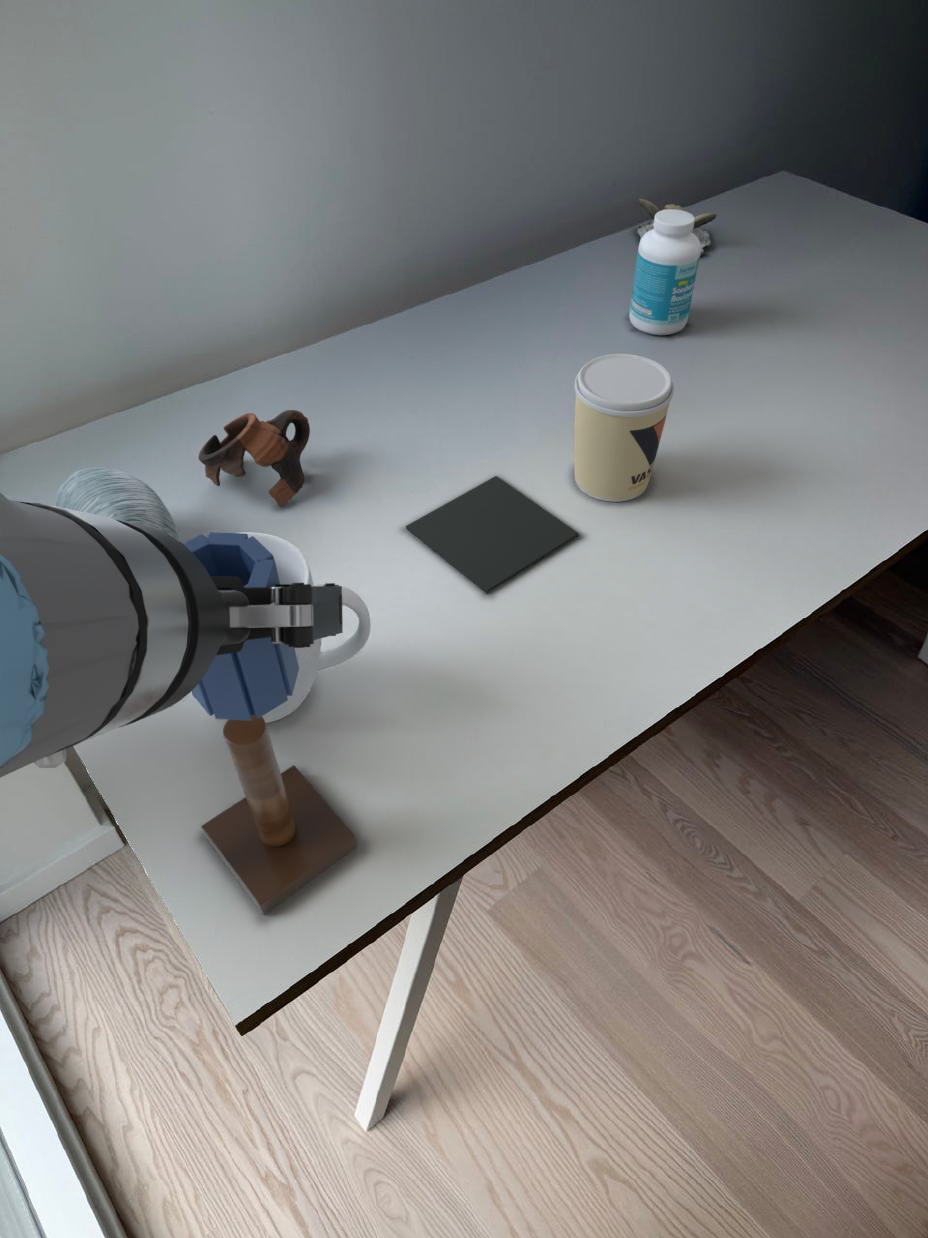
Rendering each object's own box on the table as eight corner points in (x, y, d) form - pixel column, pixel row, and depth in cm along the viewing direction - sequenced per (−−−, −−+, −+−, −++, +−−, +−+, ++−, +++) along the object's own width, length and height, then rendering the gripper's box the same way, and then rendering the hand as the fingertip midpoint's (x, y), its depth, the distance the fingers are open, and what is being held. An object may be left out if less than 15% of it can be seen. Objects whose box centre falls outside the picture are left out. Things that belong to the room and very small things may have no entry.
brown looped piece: (266, 529, 89) (212, 466, 84) (229, 520, 96) (177, 462, 92) (346, 449, 93) (298, 385, 88) (304, 446, 100) (257, 387, 96)
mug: (365, 623, 79) (350, 511, 70) (389, 720, 72) (375, 609, 63) (195, 656, 77) (155, 544, 67) (202, 760, 70) (158, 650, 60)
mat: (405, 528, 88) (405, 525, 88) (496, 478, 93) (496, 475, 93) (486, 594, 82) (486, 590, 82) (578, 536, 87) (578, 533, 87)
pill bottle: (674, 343, 111) (693, 235, 101) (619, 328, 114) (632, 222, 104) (695, 317, 116) (715, 211, 106) (641, 303, 118) (656, 199, 108)
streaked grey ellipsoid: (71, 536, 89) (5, 501, 80) (137, 468, 90) (79, 424, 80) (155, 624, 85) (96, 598, 76) (224, 552, 86) (174, 517, 76)
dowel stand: (205, 836, 65) (154, 722, 55) (297, 775, 69) (265, 657, 58) (263, 915, 61) (220, 808, 51) (358, 846, 65) (335, 732, 54)
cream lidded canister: (641, 517, 89) (659, 415, 80) (553, 493, 92) (561, 391, 83) (667, 464, 95) (686, 363, 86) (584, 443, 97) (594, 343, 88)
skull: (730, 247, 129) (730, 190, 122) (676, 283, 128) (673, 228, 121) (675, 217, 136) (671, 162, 129) (623, 250, 135) (617, 197, 127)
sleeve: (176, 675, 53) (134, 566, 47) (262, 626, 56) (234, 517, 49) (227, 738, 50) (190, 630, 44) (316, 683, 53) (294, 574, 46)
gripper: (-189, 736, 31) (91, 671, 54) (364, 730, 31) (407, 667, 54) (-198, 518, 30) (88, 546, 54) (361, 511, 30) (405, 543, 54)
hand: (248, 607), depth 54 cm, fingers closed on sleeve, 6 cm apart
